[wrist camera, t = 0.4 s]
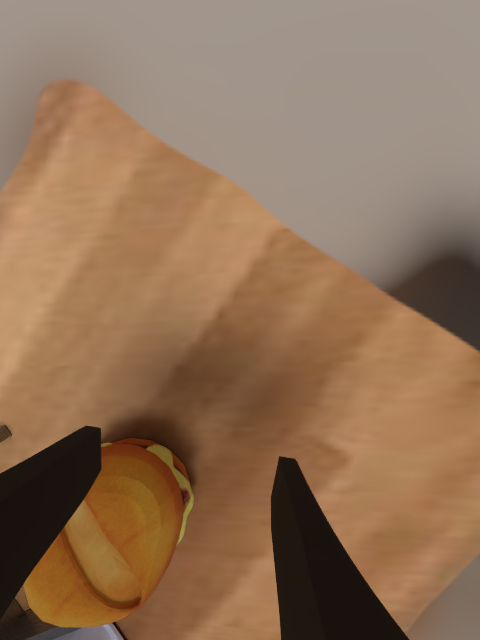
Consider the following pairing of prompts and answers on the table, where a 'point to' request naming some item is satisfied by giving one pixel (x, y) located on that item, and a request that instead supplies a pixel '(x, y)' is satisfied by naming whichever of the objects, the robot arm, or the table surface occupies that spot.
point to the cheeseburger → (114, 539)
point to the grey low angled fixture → (26, 612)
